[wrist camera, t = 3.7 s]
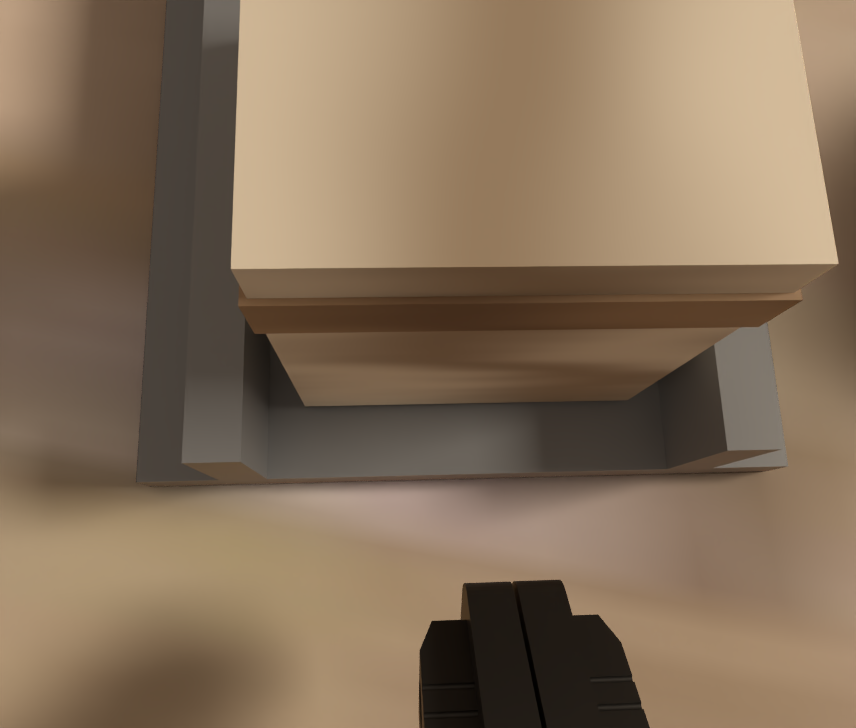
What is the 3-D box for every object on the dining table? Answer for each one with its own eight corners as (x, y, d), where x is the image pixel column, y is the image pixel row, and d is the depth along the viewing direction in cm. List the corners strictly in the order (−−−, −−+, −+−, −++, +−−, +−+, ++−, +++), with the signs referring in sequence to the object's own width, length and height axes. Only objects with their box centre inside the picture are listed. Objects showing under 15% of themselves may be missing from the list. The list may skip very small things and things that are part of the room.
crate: (604, 111, 18) (763, -214, 11) (632, 404, 17) (848, 271, 9) (303, 111, 18) (241, -228, 10) (300, 410, 16) (221, 277, 8)
